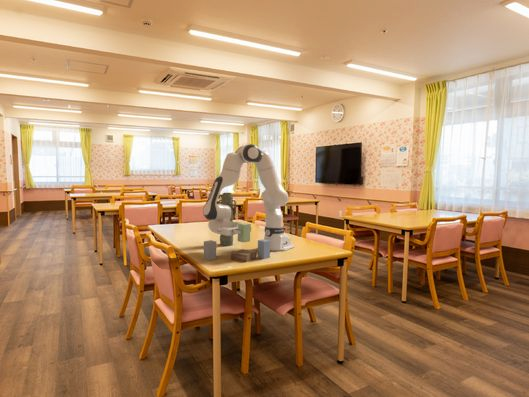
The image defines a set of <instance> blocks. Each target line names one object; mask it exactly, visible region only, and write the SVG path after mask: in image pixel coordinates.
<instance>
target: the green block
mask: <svg viewBox="0 0 529 397" xmlns="http://www.w3.org/2000/svg"><path fill="white" fill-rule="evenodd" d="M250 228H251V229H252V224H251V223H246V222H241V223H239V224H238V230H241V231H242V234H237V242H240V243H248V242H251V232H250Z"/></svg>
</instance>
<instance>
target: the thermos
mask: <svg viewBox="0 0 529 397" xmlns="http://www.w3.org/2000/svg"><path fill="white" fill-rule="evenodd" d="M220 202H221V203H220ZM217 204H221V205H228V206H229V207H230V208H231V210H232V217H231V220H230V221H232V222H234V221H233V220H234V216H236V213H237V212H236V210H237V209H236V208H237V202H236V200H235V199H234V197H233V194H232V193H231V192H223V193H222V195H221V198H220V199H218V200H217ZM233 205H234V206H233ZM219 245H220V246H222V247H231V246H233V245H234V235H233V236H225V235H222V234H219Z"/></svg>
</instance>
